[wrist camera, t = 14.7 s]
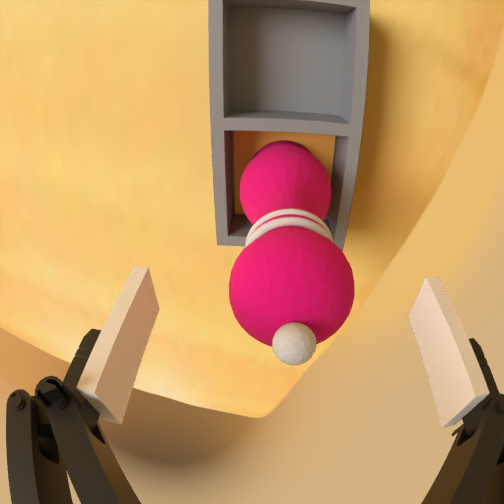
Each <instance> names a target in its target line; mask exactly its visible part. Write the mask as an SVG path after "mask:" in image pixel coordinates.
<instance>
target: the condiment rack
mask: <svg viewBox="0 0 504 504" xmlns="http://www.w3.org/2000/svg"><path fill="white" fill-rule="evenodd" d="M369 27H370V0H209V85H210V118H211V144H212V166H213V185H214V203H215V219H216V234H217V245H228V246H245V243H246V238H247V235H248V233H249V231H250V229H251V228H252V226H253V224H252V223H251V222H250V221H249V220H248V218H247V216H246V214H245V212H244V210H243V208H242V205H241V201H240V182H241V178H242V174H243V172H244V170H245V168H246V167H247V165H248V164H249V163H250V162H251V160H252V159H253V157H254V156H255V154H256V153H257V151H258V150H260V149H261V148H262V147H263V146H265V145H266V144H268V143H271V142H274V141H279V140H289V141H294V142H296V143H299V144H301V145H303V146H304V147H306V148H307V149H308V150H309V151H310V152H311V154H312V155H313V156H314V157H316V158H317V159H318V160H319V161H320V163H321V164H322V165H323V166H324V168H325V170H326V171H327V174H328V177H329V180H330V186H331V201H330V206H329V210H328V213H327V215H326V217H325V218H324V220H323V222H324V223H325V224H326V226H327V227H328V228H329V230H330V232H331V234H332V238H333V242H334V244H336V245H337V246H338V247H339V248H340V249H341V250H343V247H344V242H345V237H346V232H347V227H348V221H349V216H350V210H351V204H352V198H353V192H354V186H355V179H356V173H357V166H358V159H359V151H360V143H361V135H362V126H363V117H364V107H365V96H366V84H367V70H368V53H369Z"/></svg>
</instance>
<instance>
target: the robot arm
mask: <svg viewBox="0 0 504 504" xmlns="http://www.w3.org/2000/svg"><path fill="white" fill-rule="evenodd" d="M158 312H159V305H158V302H157V298H156V294H155V291H154V287H153V283H152V279H151V276H150V272H149V268H148V267H133V269H132V271H131V273H130V274H129V276H128V278H127V280H126V282H125V284H124V286H123V288H122V290H121V292H120V294H119V296H118V298H117V300H116V301H115V303H114V305H113V308H112V310H111V312H110V314H109V316H108V318H107V320H106V322H105V324H104V326H103V328H102V330H96V329H91V330H90V331H89V332H88V333H87V334H86V335H85V336H84V337H83V339H82V342H81V344H80V346H79V349H78V350H77V352H76V354H75V357H74V358H73V361H72V363H71V365H70V367H69V369H68V372H67V374H66V376H65V378H64V381H63V382H62V381H61V380H60V379H58V378H57V377H54V376H49V377H45V378H44V379H42V380H41V381H40V382H39V383H38V384H37V386H36V389H35V396H30V395H29V394H28V393H27V392H26V391H25V390H16V391H14V392H13V393H12V394H10V396H9V398H8V401H7V410H6V411H7V412H6V446H7V465H8V477H9V486H10V494H11V501H12V504H73V502H72V498H71V493H70V488H69V483H68V477H67V472H68V475H69V477H70V480H71V482H72V484H73V486H74V489H75V491H76V493H77V495H78V497H79V500H80V502H81V504H141V503H140V501H139V499H138V498H137V496H136V494H135V493H134V491H133V489H132V487H131V486H130V484H129V482H128V480H127V479H126V477H125V475H124V473H123V471H122V469H121V468H120V466H119V464H118V462H117V460H116V458H115V456H114V454H113V452H112V450H111V448H110V446H109V443H108V442H107V439H106V437H105V435H104V433H103V430H102V428H101V426H100V424H99V422H98V419H99V416H100V415H101V416H102V418H104V419H105V420H106V421H110V422H114V423H117V424H122V421H123V417H124V413H125V410H126V407H127V404H128V401H129V397H130V394H131V390H132V388H133V385H134V381H135V378H136V375H137V372H138V369H139V366H140V363H141V360H142V357H143V354H144V351H145V348H146V345H147V343H148V340H149V337H150V334H151V331H152V328H153V325H154V323H155V320H156V317H157V314H158ZM408 318H409V321H410V323H411V326H412V329H413V332H414V335H415V338H416V341H417V344H418V346H419V350H420V353H421V356H422V359H423V362H424V365H425V369H426V372H427V375H428V379H429V382H430V385H431V389H432V393H433V396H434V400H435V404H436V408H437V412H438V416H439V420H440V424H441V428H443V427H448V426H451V425H455V424H456V423H457V422H459V421H460V420H461V419H462V420H463V423H464V424H462V425H461V426H460V427H459V428H458V429H456V430H455V431H454V432H453V433H452V436H454V435H455V434H456V433H458V434H457V436H456V439H455V441H454V443H453V445H452V447H451V450H450V452H449V454H448V456H447V458H446V460H445V462H444V464H443V466H442V468H441V470H440V472H439V474H438V476H437V477H436V479H435V481H434V483H433V485H432V487H431V488H430V490H429V492H428V493H427V495H426V497H425V498H424V500H423V502H422V503H421V504H504V394H500V393H499V391H498V389H497V386H496V383H495V381H494V378H493V375H492V373H491V370H490V368H489V366H488V365H487V361H486V358H484V354H483V351H482V349H481V346H480V345H479V344H478V343H477V342H476V340H475V339H474V338H472V339H468V337H467V335H466V333H465V330H464V328H463V326H462V324H461V322H460V320H459V318H458V315H457V313H456V311H455V309H454V307H453V305H452V303H451V301H450V300H449V297H448V295H447V294H446V291H445V290H444V288H443V286H442V284H441V282H440V280H439V278H429V277H428V278H425V281H424V283H423V285H422V287H421V290H420V292H419V294H418V297H417V298H416V301H415V303H414V305H413V307H412V309H411V311H410V313H409V316H408ZM66 470H67V472H66Z"/></svg>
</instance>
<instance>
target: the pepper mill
mask: <svg viewBox="0 0 504 504" xmlns="http://www.w3.org/2000/svg"><path fill="white" fill-rule="evenodd" d="M240 201H241V205H242V208H243V210H244V212H245V214H246V216H247V218H248V220H249V221H250V222H251V223H252V224H253V226H252V228H251V229H250V231H249V233H248V235H247V238H246V243H245V249H243V251H242V252H241V254H240V255H239V256H238V258H237V259H236V261H235V264H234V266H233V269H232V271H231V276H230V282H229V298H230V304H231V307H232V310H233V312H234V315H235V318H236V319H237V321H238V322H239V324H240V325H241V327H242V328H243V329H244V330H245V331H246V332H247V333H248V334H249V335H251V336H252V337H253V338H255V339H256V340H258V341H260V342H262V343H264V344H266V345H268V346H272V347H273V352H274V353H275V355H276V357H277V358H278V359H279V360H280V361H281V362H283V363H285V364H288V365H300V364H302V363H305V362H306V361H308V360H309V359H310V358H311V357H312V355H313V353H314V352H315V349H316V344H318V343H320V342H322V341H324V340H326V339H327V338H329V337H330V336H332V335H333V334H335V333H336V332H337V330H338V329H339V328H340V327H341V326H342V325H343V323H344V322H345V320H346V319H347V317H348V315H349V313H350V310H351V308H352V305H353V300H354V279H353V273H352V269H351V267H350V264H349V262H348V261H347V259H346V257H345V255H344V253H343V252H342V250H341V249H340V248H339V247H338V246H337V245H336V244H334V242H333V238H332V234H331V232H330V230H329V228H328V227H327V226H326V224H325V223H324V222H323V220H324V218H325V217H326V215H327V213H328V210H329V206H330V201H331V186H330V180H329V177H328V174H327V171H326V170H325V168H324V166H323V165H322V164H321V163H320V161H319V160H318V159H317V158H316V157H314V156H313V155H312V154H311V152H310V151H309V150H308V149H307V148H306V147H304V146H303V145H301V144H299V143H296V142H294V141H289V140H279V141H274V142H271V143H268V144H266V145H265V146H263V147H262V148H261V149H260V150H258V151H257V153H256V154H255V156H254V157H253V159H252V160H251V162H250V163H249V164H248V165H247V167H246V168H245V170H244V172H243V174H242V178H241V182H240Z"/></svg>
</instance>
